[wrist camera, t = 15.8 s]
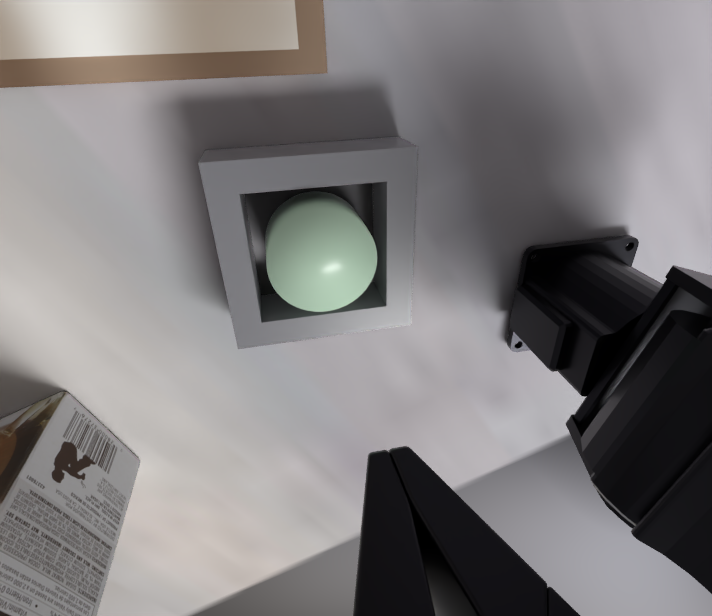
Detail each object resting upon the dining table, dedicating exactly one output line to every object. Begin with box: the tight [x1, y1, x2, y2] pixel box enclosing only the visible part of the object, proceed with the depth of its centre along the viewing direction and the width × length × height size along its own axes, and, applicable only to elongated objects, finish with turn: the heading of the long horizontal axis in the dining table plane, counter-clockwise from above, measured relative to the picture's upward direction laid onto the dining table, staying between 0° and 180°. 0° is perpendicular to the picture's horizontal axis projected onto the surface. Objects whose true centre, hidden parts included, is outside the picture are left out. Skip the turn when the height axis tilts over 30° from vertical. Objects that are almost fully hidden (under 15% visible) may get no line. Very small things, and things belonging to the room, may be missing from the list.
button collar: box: [198, 137, 418, 349], centre depth 19 cm, size 8×8×2 cm
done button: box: [265, 191, 377, 312], centre depth 18 cm, size 4×4×2 cm
